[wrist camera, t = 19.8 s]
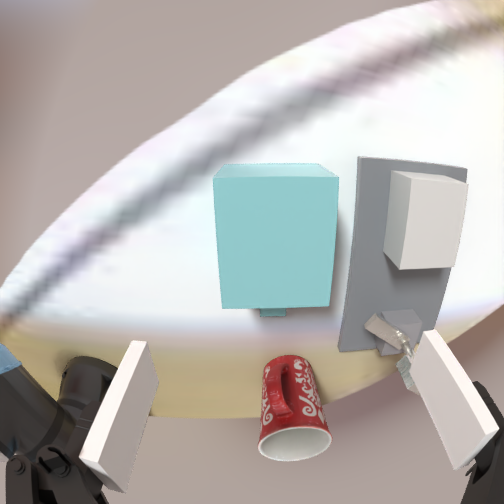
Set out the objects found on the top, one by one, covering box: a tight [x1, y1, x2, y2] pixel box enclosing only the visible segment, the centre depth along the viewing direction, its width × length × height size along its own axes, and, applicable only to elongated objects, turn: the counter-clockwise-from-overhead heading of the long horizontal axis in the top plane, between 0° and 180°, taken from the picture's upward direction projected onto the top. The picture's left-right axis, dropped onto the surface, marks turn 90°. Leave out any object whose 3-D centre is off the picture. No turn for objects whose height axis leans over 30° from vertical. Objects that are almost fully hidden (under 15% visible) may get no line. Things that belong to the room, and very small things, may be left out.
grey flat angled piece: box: [364, 313, 421, 396], centre depth 30 cm, size 2×11×10 cm, turn 56°
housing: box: [338, 157, 468, 356], centre depth 33 cm, size 15×26×6 cm, turn 1°
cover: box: [213, 163, 339, 317], centre depth 31 cm, size 10×17×9 cm, turn 1°
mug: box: [258, 355, 332, 461], centre depth 36 cm, size 13×9×14 cm
